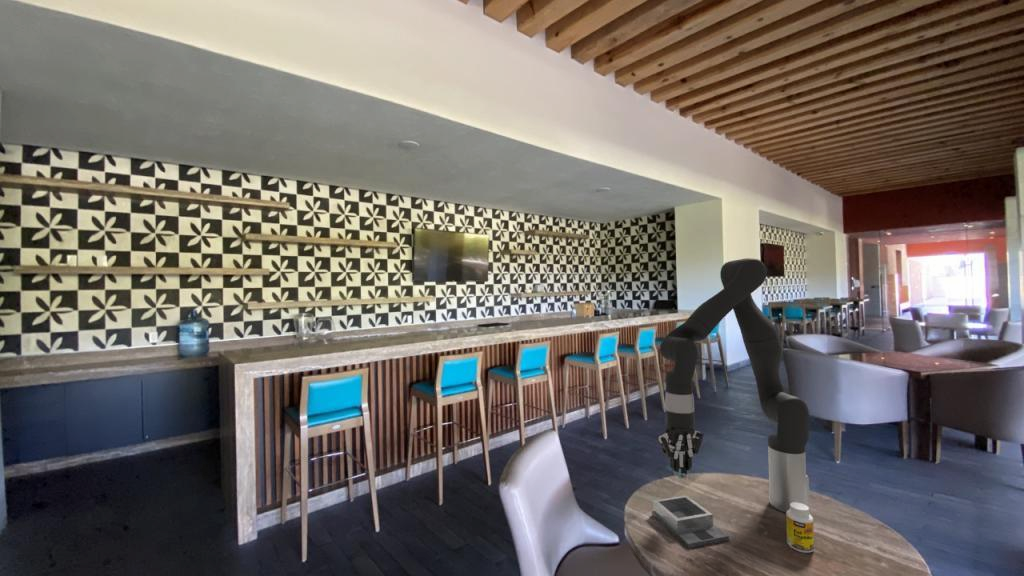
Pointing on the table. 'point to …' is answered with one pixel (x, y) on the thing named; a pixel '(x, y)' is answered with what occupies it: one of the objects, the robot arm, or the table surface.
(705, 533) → the gray open box
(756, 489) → the table surface
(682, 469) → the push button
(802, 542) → the supplement bottle
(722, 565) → the table surface
